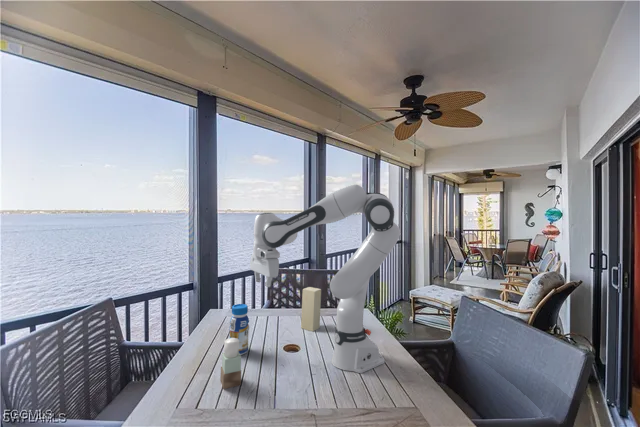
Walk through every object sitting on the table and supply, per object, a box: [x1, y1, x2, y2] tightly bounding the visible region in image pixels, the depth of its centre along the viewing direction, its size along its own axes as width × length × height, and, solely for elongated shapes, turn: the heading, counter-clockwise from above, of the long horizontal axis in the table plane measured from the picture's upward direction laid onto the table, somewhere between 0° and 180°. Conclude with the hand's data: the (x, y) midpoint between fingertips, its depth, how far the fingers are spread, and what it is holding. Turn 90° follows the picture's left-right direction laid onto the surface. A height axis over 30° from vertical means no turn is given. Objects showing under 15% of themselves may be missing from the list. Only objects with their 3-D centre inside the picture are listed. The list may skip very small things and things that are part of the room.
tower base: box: [219, 366, 242, 390], centre depth 108 cm, size 6×6×5 cm
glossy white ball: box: [223, 337, 239, 358], centre depth 108 cm, size 5×5×5 cm
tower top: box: [221, 352, 242, 374], centre depth 108 cm, size 6×6×5 cm
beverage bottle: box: [228, 303, 250, 356], centre depth 132 cm, size 8×8×20 cm
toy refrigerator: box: [300, 286, 322, 332], centre depth 161 cm, size 8×7×21 cm
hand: (262, 284), depth 126 cm, fingers open, 8 cm apart
